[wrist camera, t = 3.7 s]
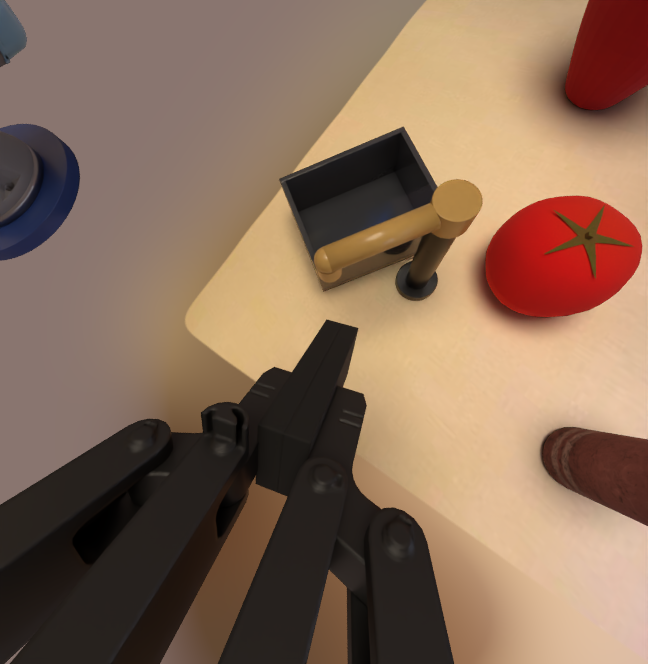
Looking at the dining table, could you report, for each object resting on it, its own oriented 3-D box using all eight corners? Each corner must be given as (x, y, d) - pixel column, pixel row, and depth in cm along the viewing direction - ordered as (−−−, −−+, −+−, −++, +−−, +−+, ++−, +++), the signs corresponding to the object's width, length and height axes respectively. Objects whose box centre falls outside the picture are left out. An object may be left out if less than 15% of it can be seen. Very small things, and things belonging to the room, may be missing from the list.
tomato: (452, 294, 35) (491, 253, 24) (500, 218, 36) (556, 149, 26) (550, 347, 32) (639, 326, 22) (598, 263, 33) (703, 207, 23)
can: (609, 435, 30) (820, 472, 16) (600, 498, 29) (818, 596, 15) (545, 416, 31) (693, 436, 17) (534, 476, 30) (683, 549, 16)
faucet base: (389, 272, 36) (405, 208, 23) (425, 258, 36) (461, 185, 23) (405, 306, 35) (431, 258, 22) (442, 291, 35) (489, 234, 22)
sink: (292, 214, 39) (278, 178, 33) (396, 171, 39) (403, 126, 32) (323, 291, 37) (315, 269, 30) (435, 246, 36) (452, 214, 29)
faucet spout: (454, 200, 24) (468, 171, 21) (473, 234, 23) (491, 210, 20) (311, 258, 24) (304, 239, 21) (326, 294, 23) (320, 279, 20)
